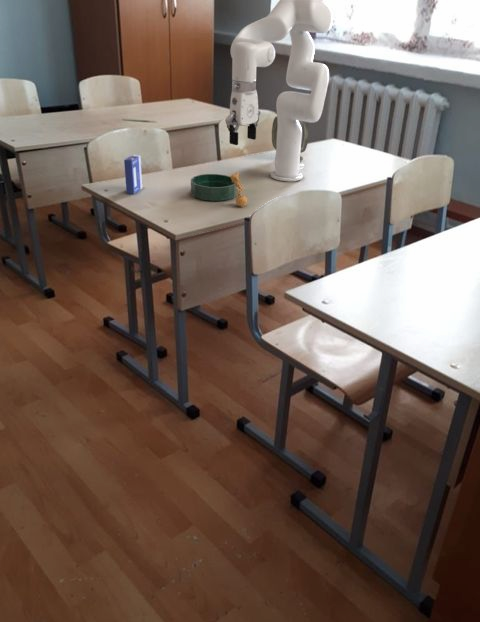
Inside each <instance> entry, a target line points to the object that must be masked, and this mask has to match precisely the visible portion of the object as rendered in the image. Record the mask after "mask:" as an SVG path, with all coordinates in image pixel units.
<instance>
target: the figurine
mask: <svg viewBox="0 0 480 622" xmlns="http://www.w3.org/2000/svg"><path fill="white" fill-rule="evenodd" d="M239 176H240V172H239V171H237V172H235V173H232V174H231V175H230V177H231V180H232V182H233V183H234V184H235V186H236V187H237V195H236V197H235V204H236V206H238V207H239V208H240V207H241V208H243V207H246V205H247V204H248V198H247V196H246V195H244V194H242V193H241V192H242V191H245V187H244V186H243V184H242V183H241V181H240V178H239Z"/></svg>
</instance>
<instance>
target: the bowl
mask: <svg viewBox="0 0 480 622" xmlns="http://www.w3.org/2000/svg"><path fill="white" fill-rule="evenodd" d="M237 189H238V188H237V187H236V186H235V184H234V183H233V182H232V180H231V175H226V174H219V173H204V174H198V175H195V176H193V177H191V178H190V194H191V196H193V197H194V198H196V199H199V200H203V201H210V202H221V201H228V200H231V199H234V198H236V197H237V196H238V193H237Z"/></svg>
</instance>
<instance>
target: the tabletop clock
mask: <svg viewBox="0 0 480 622" xmlns="http://www.w3.org/2000/svg"><path fill="white" fill-rule="evenodd" d="M298 122H299V124H300V126H301V129H302V139H301V151H300V161H303V160H304V157H303V156H301V154H302V153H304V152H305V151H306V150H307V147H308V142H309V133H310V131H309V122H305V121H299V120H298ZM277 128H278V120H277V115H276V116H274V118H273V121H272V127H271V143H272V147H273V148H274V150H276V145H277ZM275 160H276V157H275Z"/></svg>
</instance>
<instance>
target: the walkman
mask: <svg viewBox="0 0 480 622" xmlns="http://www.w3.org/2000/svg"><path fill="white" fill-rule="evenodd" d="M123 163H124V177H125V188H126V191H125V192H126V194H129V195H135V194H136V193H138V192H139V191H141V190H142V189H143V174H142V173H143V172H142V157H141V154H131V155H130V156H128V157H126V158H125V159H124V160H123Z"/></svg>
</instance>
